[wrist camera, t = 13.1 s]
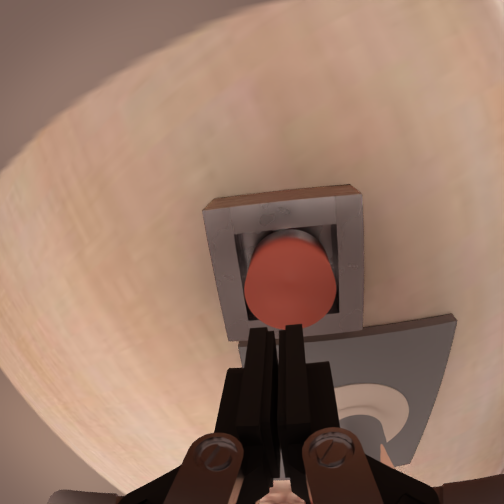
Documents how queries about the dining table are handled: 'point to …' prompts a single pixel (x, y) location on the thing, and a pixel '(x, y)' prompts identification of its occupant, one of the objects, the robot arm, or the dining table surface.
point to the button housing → (280, 218)
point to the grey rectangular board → (386, 374)
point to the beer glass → (368, 431)
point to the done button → (289, 280)
